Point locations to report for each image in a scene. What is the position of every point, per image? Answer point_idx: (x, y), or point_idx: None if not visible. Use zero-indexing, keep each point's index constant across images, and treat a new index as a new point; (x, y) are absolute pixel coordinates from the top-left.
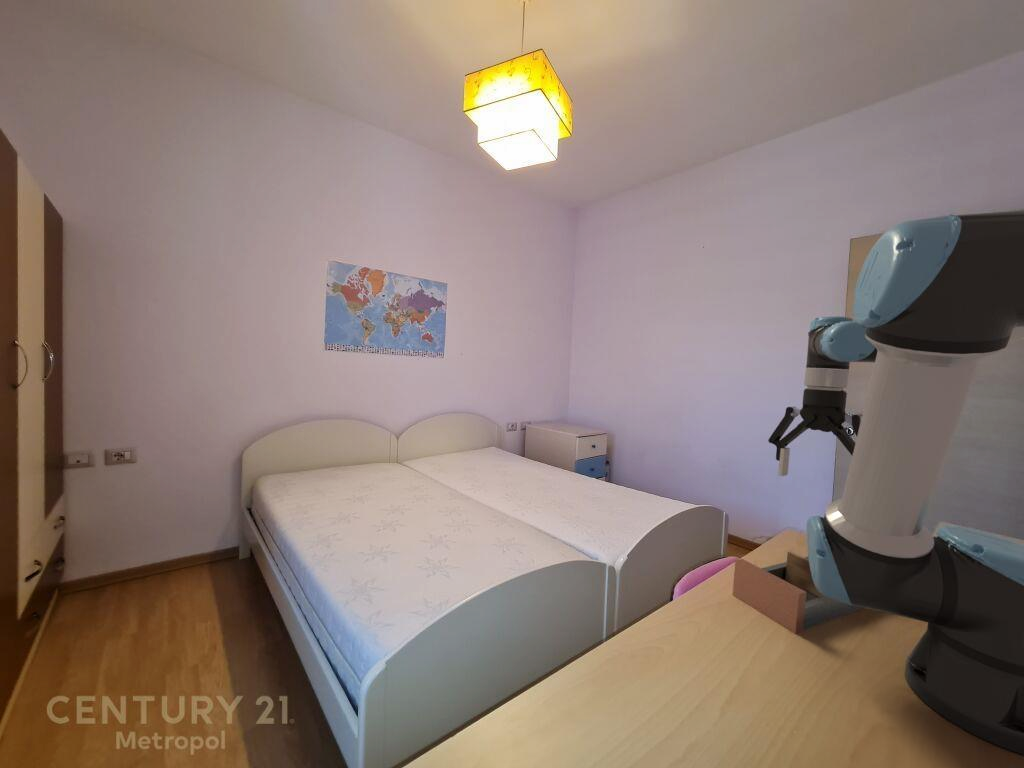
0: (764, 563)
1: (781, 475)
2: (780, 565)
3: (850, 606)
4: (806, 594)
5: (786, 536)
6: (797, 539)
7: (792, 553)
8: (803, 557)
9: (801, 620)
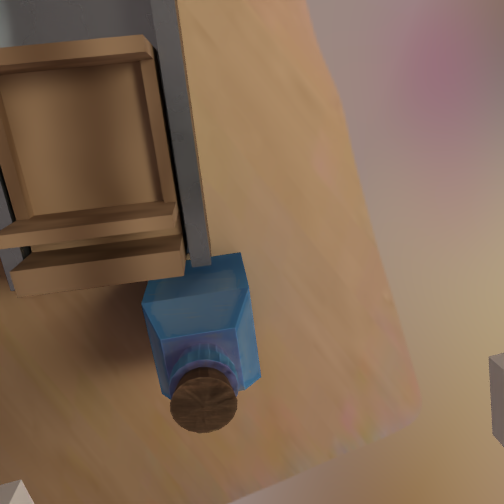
0: (294, 128)
1: (495, 361)
2: (167, 32)
3: None
4: (65, 35)
5: (406, 373)
6: (380, 387)
7: (126, 42)
8: (84, 56)
9: None
